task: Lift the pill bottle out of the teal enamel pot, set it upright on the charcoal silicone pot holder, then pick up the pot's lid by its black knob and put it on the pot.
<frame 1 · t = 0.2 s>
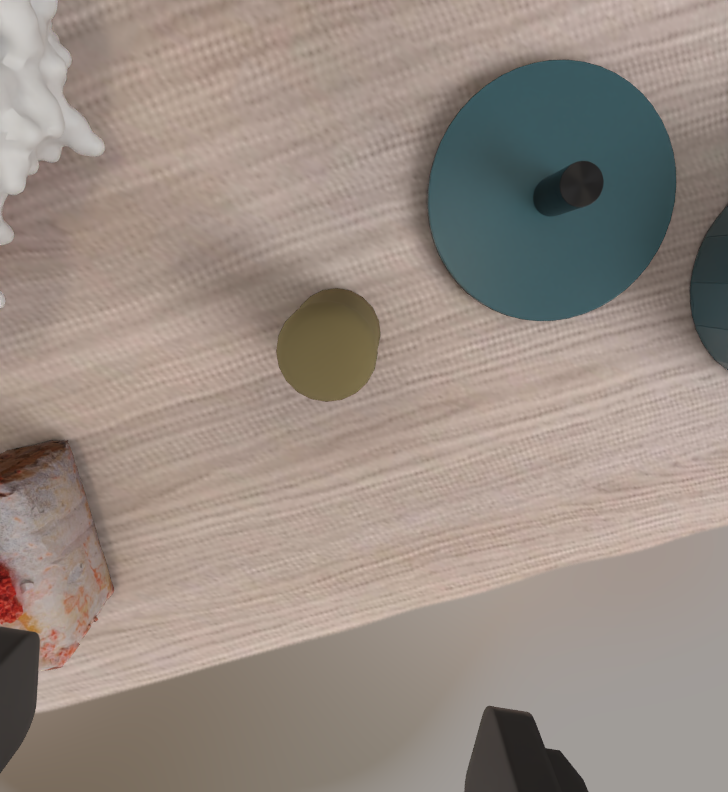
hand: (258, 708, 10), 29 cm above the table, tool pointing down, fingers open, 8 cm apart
pot lid: (549, 197, 35), point 1 cm above the table
cork: (336, 332, 37), on the table
food item: (59, 527, 40), on the table
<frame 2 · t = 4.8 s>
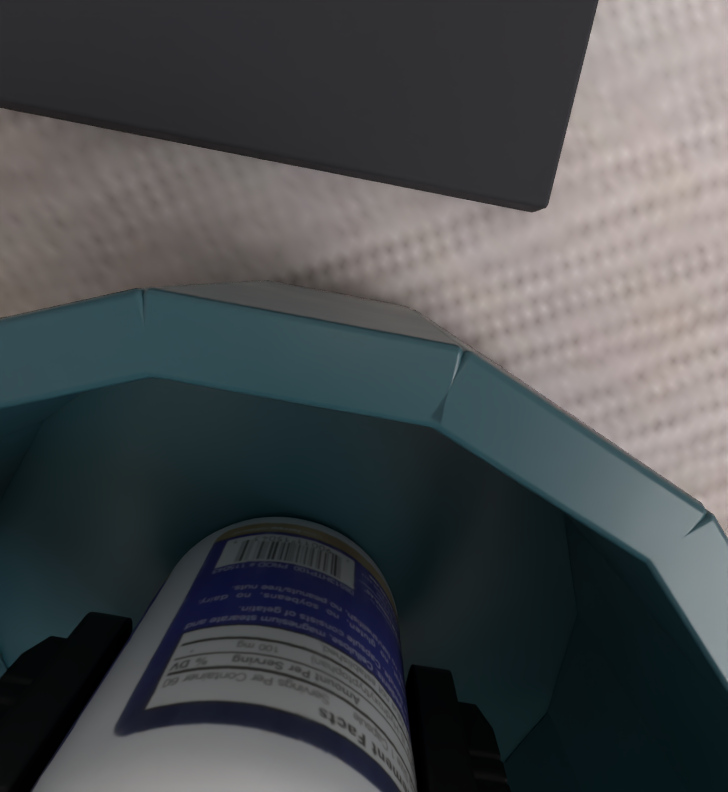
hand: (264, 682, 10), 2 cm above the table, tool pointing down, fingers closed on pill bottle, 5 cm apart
pill bottle: (283, 612, 12), resting on pot, touching gripper
pot: (284, 609, 12), on the table
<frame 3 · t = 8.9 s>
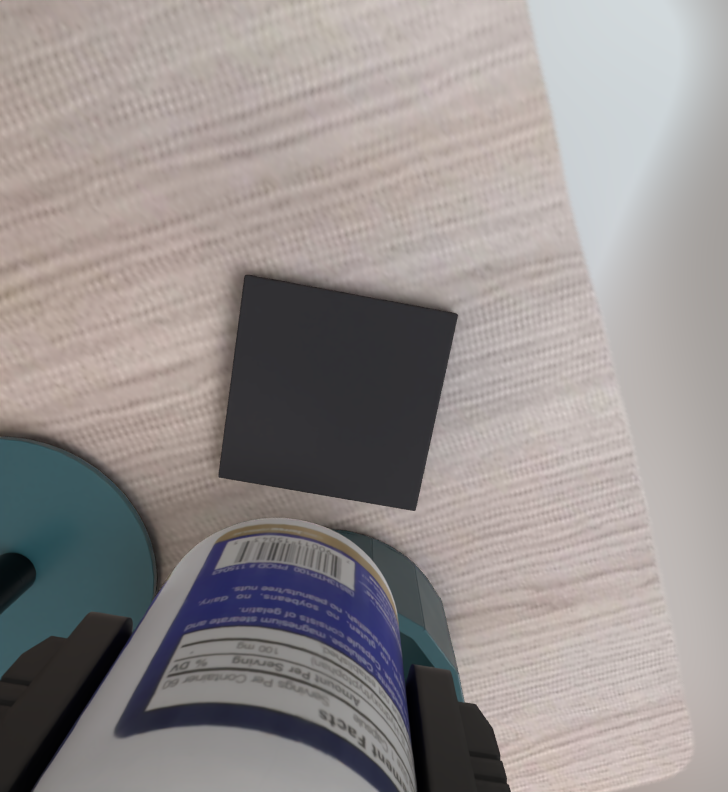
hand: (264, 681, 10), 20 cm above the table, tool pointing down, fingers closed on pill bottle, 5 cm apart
pot lid: (20, 566, 31), point 1 cm above the table
pill bottle: (283, 613, 12), point 18 cm above the table, touching gripper
pot holder: (334, 395, 29), on the table
pot: (325, 640, 33), on the table
when the fingers open (3 cm above the table, at t = 13.1 s): pill bottle stays where it is, resting on pot holder.
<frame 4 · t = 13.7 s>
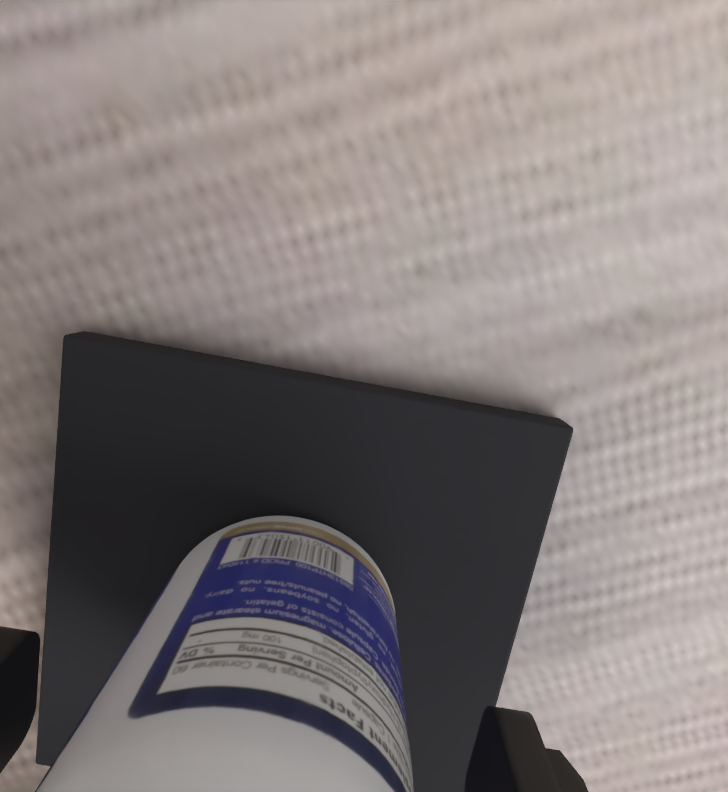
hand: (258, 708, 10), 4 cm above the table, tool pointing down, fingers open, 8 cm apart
pill bottle: (285, 608, 13), point 1 cm above the table, touching pot holder
pot holder: (288, 590, 13), on the table
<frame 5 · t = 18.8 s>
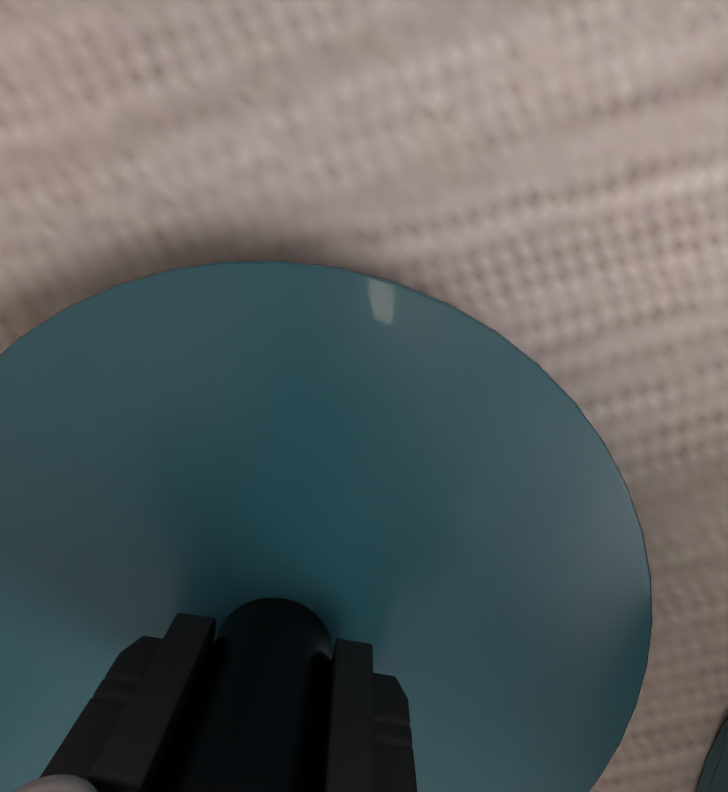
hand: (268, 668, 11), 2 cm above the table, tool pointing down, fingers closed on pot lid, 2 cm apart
pot lid: (278, 632, 12), point 1 cm above the table, touching gripper
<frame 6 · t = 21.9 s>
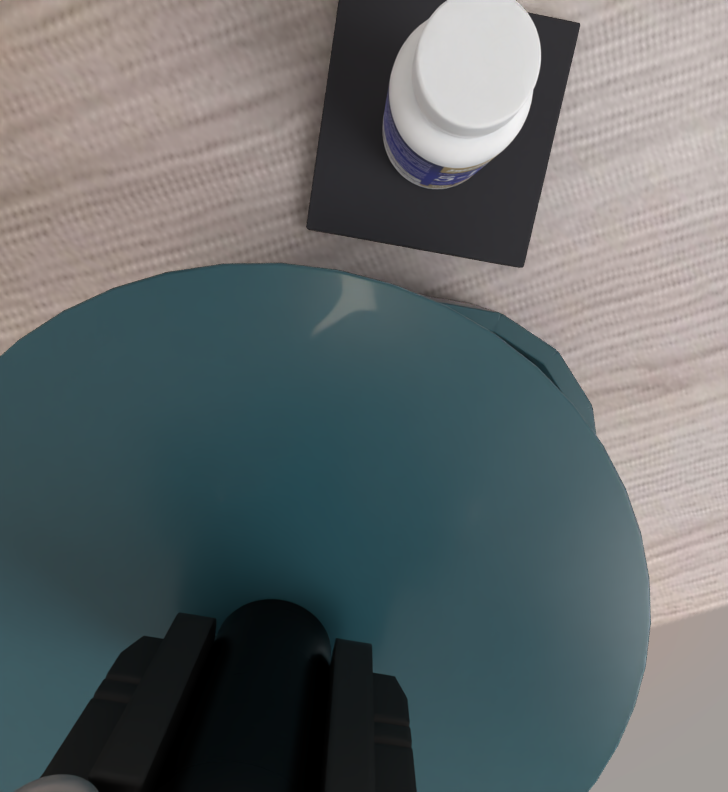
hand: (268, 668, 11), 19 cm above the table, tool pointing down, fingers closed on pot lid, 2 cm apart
pot lid: (277, 633, 12), point 18 cm above the table, touching gripper
pill bottle: (437, 132, 26), point 1 cm above the table, touching pot holder
pot holder: (436, 133, 26), on the table
pot: (416, 431, 30), on the table
when the fingers open (7 cm above the table, at t = 25.2 s): pot lid stays where it is, resting on pot.
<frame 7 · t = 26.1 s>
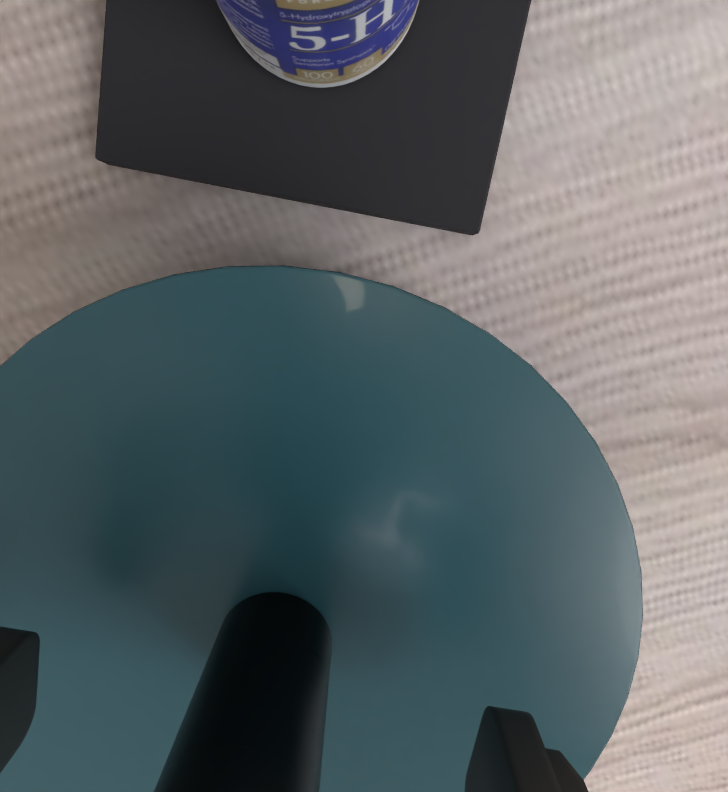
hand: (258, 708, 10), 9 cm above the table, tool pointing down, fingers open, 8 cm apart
pot lid: (279, 626, 12), point 6 cm above the table, touching pot
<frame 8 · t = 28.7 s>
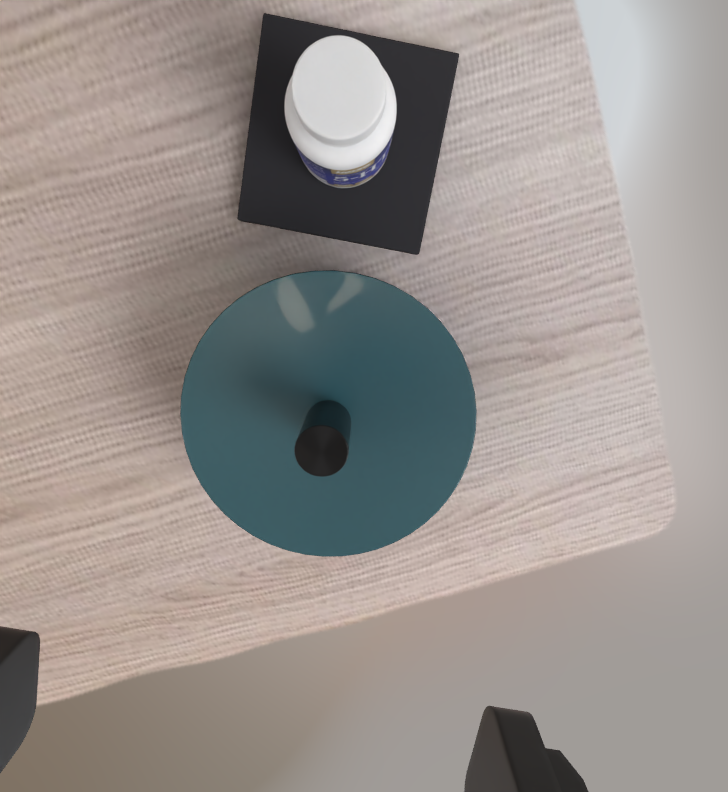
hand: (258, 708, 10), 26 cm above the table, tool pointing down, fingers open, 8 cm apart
pot lid: (329, 419, 29), point 6 cm above the table, touching pot
pill bottle: (344, 141, 31), point 1 cm above the table, touching pot holder
pot holder: (345, 142, 32), on the table
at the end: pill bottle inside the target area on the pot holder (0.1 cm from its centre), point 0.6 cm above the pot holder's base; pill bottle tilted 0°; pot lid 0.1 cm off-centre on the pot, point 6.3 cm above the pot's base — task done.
